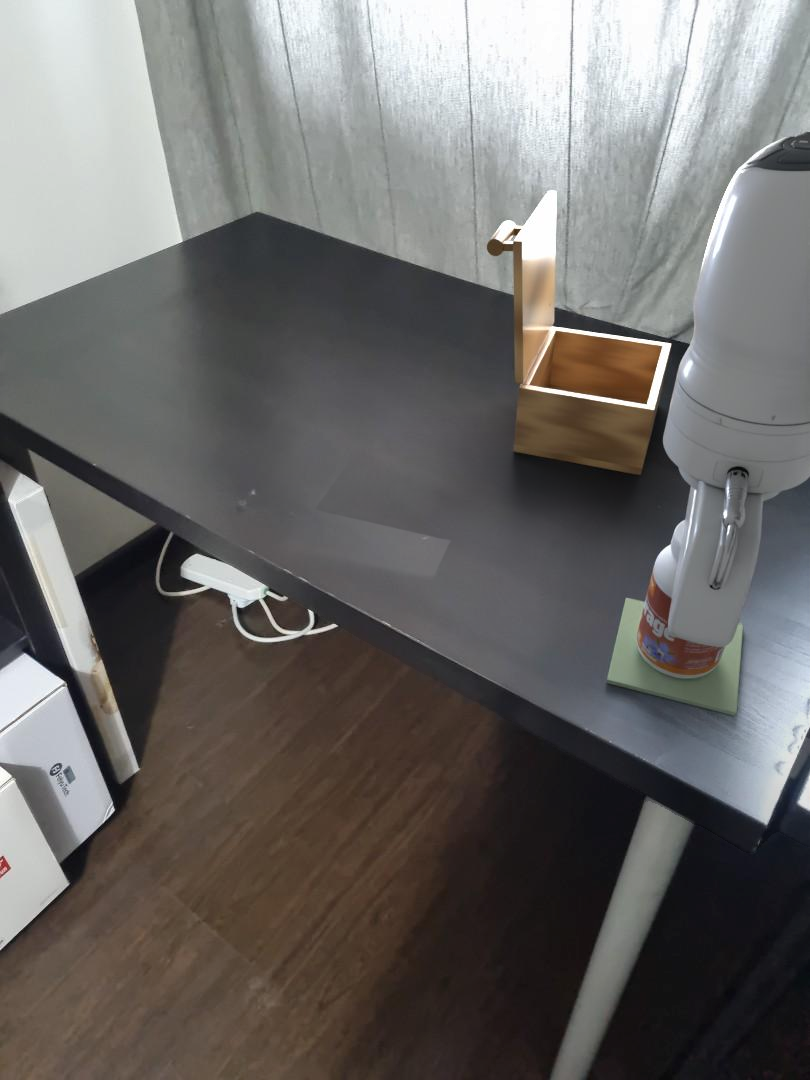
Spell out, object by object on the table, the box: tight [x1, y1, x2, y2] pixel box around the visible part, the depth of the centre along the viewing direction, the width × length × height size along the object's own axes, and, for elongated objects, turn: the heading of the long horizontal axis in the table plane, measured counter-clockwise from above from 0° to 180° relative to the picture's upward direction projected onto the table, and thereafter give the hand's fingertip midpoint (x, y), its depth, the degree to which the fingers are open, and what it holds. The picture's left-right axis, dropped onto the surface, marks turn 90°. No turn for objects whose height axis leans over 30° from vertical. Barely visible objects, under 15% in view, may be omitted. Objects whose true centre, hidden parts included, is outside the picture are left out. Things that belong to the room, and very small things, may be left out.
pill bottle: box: [636, 519, 725, 679], centre depth 58 cm, size 6×6×11 cm
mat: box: [606, 597, 744, 717], centre depth 62 cm, size 9×9×1 cm
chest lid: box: [486, 190, 557, 384], centre depth 79 cm, size 13×14×4 cm
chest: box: [513, 326, 672, 476], centre depth 84 cm, size 13×14×7 cm
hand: (694, 594), depth 58 cm, fingers closed on pill bottle, 6 cm apart
